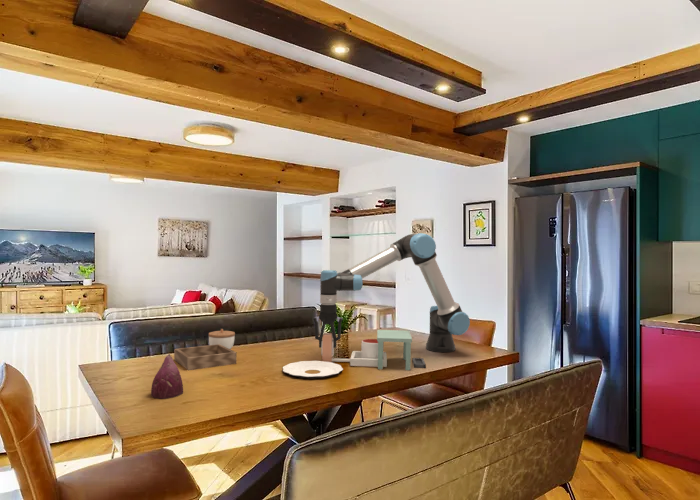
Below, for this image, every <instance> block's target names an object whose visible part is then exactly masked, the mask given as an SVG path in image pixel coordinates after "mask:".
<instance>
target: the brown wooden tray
mask: <svg viewBox="0 0 700 500" xmlns="http://www.w3.org/2000/svg"><path fill="white" fill-rule="evenodd" d="M173 361H174V362H176V363H177V364H179V365H180V366H181V367H183V368H185V369H186V370H187V371H193V370H201V369H207V368H208V369H209V368H215V367H223V366H228V365H236V364H237V352H236V351H234V350H233V349H232V348H231V349H229V348H226V347H224V346H222V345H220V344H216V345H210V344H208V345H198V346H191V347H190V346H189V347H180V348H175V349H174V355H173Z"/></svg>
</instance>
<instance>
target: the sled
mask: <svg viewBox="0 0 700 500" xmlns="http://www.w3.org/2000/svg"><path fill="white" fill-rule="evenodd" d="M322 340H323V352H322V355H321V357H322V358H321V361H323V362H339V363H340V362H341V363H342V362H343V363H344V362H345V363H346V362H347V363H349V366H350V367H351V366H352V367H353V366H354V367H356V366H357V367H377V368H378V359H365V358H361V350H352V353H351V354H350V355H351V356H350V358H338V357H337V358H335V357H333V356H334V355H333V356H332V340H333V335H332V332H324V333H323V338H322ZM387 357H388V356H387V352H386V351H383V366H382V368H387V367H388V366H387V365H388V358H387Z"/></svg>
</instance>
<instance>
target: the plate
mask: <svg viewBox="0 0 700 500" xmlns="http://www.w3.org/2000/svg"><path fill="white" fill-rule="evenodd" d="M343 370H344V368H343V367H342V365H341V364H338V363H335V362H333V361H331V362H323V361H322V360H303V361H301V360H300V361H296V362H291V363H288V364H286V365H284V366H283V367H282V372H283V373H285V374H288V375H290V376H293V377H295V378H303V379H322V378H328V377H331V376H335V375H337V374H340V373H341V372H343ZM307 371H319V372H318V373H307Z"/></svg>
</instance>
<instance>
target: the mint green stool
mask: <svg viewBox="0 0 700 500" xmlns="http://www.w3.org/2000/svg"><path fill="white" fill-rule="evenodd" d="M376 334H377V335H376V339H377V341H378V367H377V370H383V367H382V366H383V352H384V345H383V342H384V343H385V342H386V343H388V342H389V343H403V346H402V347H403V348H402V350H403V352H402V353H403V356H402V358H403V359H402V360H405V371H411V362H412V361H411V359H412V357H411V356H412V354H411V353H412V350H411V349H412V348H411V347H412V343H413V337H412V335H411V332H410V330H399V329H377V332H376Z"/></svg>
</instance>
